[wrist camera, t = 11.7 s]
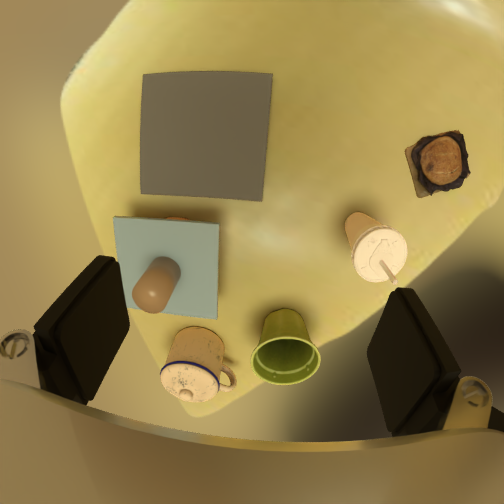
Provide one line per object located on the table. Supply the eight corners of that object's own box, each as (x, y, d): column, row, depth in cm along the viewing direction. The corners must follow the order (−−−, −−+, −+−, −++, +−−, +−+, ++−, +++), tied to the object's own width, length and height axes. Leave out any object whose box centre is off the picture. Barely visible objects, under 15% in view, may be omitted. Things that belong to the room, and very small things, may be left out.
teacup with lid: (166, 349, 49) (147, 399, 39) (185, 315, 46) (165, 368, 35) (226, 376, 51) (218, 427, 41) (251, 346, 48) (246, 402, 37)
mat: (144, 74, 31) (143, 74, 30) (272, 74, 30) (272, 73, 30) (142, 193, 37) (140, 194, 37) (262, 200, 37) (261, 201, 37)
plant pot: (245, 337, 47) (241, 376, 39) (265, 291, 43) (264, 329, 35) (298, 350, 48) (302, 390, 40) (323, 308, 44) (332, 346, 36)
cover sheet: (115, 215, 33) (87, 236, 27) (219, 222, 33) (209, 246, 27) (127, 304, 39) (107, 334, 33) (217, 316, 38) (209, 351, 32)
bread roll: (415, 200, 37) (427, 208, 33) (400, 143, 33) (412, 146, 30) (469, 178, 34) (483, 185, 31) (458, 124, 31) (472, 126, 28)
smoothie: (333, 247, 40) (360, 307, 27) (336, 201, 37) (369, 245, 24) (376, 246, 39) (417, 303, 26) (381, 202, 36) (431, 245, 24)
